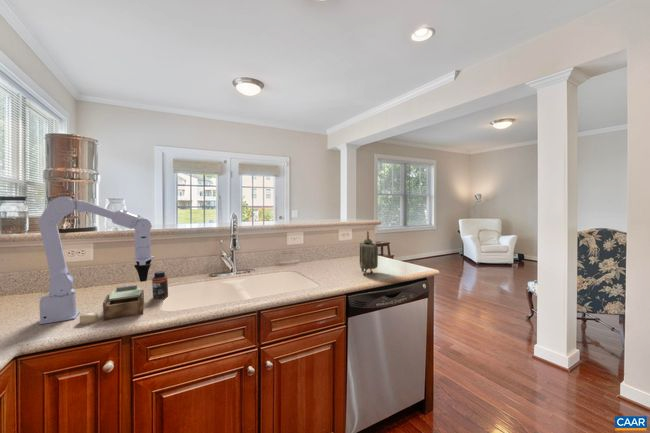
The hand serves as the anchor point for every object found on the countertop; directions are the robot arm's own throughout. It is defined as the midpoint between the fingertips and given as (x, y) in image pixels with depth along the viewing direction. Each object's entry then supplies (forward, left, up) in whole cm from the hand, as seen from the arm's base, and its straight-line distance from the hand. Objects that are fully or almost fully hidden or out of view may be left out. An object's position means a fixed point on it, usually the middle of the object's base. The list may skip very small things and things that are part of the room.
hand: (143, 279), depth 121 cm
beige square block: (-16, -13, -10) cm, 23 cm away
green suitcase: (+112, -10, -10) cm, 113 cm away
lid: (-6, -3, -5) cm, 8 cm away
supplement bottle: (+6, +4, -10) cm, 12 cm away
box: (-6, -9, -10) cm, 15 cm away
